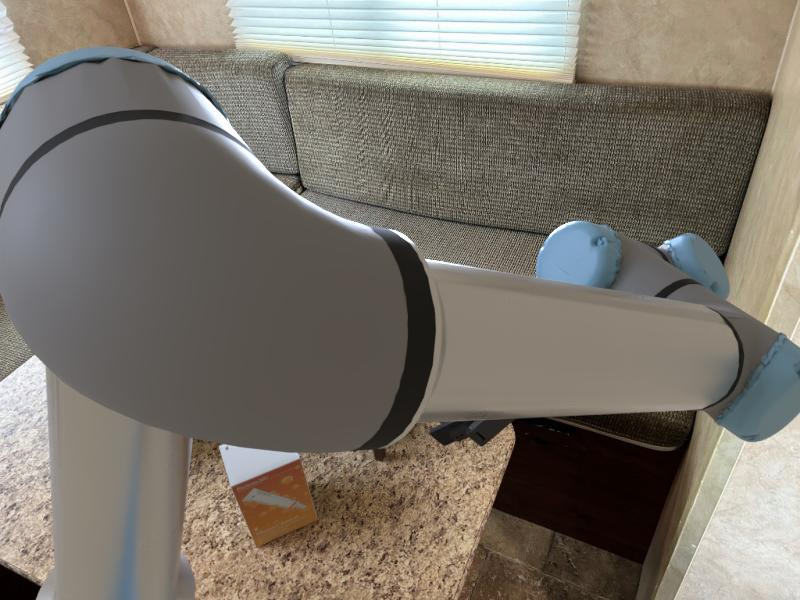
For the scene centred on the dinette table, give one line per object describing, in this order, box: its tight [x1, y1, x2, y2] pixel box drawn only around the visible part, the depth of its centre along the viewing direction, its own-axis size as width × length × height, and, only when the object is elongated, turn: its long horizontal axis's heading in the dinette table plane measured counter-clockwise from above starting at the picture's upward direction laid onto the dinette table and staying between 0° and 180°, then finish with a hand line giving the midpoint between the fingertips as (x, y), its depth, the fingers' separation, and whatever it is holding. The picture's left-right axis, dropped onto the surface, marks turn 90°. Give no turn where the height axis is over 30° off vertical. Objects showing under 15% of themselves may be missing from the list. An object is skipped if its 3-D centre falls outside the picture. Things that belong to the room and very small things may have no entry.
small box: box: [218, 444, 319, 548], centre depth 72 cm, size 8×6×13 cm
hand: (450, 397), depth 80 cm, fingers open, 13 cm apart
